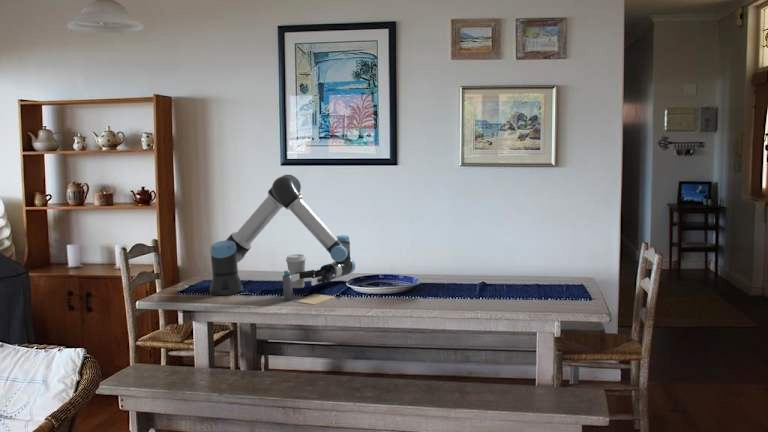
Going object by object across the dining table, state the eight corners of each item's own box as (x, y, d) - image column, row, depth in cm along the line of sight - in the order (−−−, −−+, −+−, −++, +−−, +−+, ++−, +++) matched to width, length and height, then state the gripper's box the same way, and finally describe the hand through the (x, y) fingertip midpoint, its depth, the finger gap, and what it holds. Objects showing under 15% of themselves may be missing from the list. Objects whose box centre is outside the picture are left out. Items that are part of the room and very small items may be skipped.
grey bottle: (282, 300, 298) (280, 271, 296) (288, 298, 301) (286, 269, 299) (288, 301, 295) (287, 272, 294) (295, 299, 299) (293, 270, 297)
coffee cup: (303, 289, 317) (302, 257, 316) (284, 288, 319) (282, 257, 317) (310, 284, 327) (308, 253, 325) (291, 284, 329) (289, 253, 327)
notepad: (293, 301, 295) (293, 300, 295) (314, 294, 306) (314, 293, 306) (314, 304, 288) (314, 304, 288) (335, 297, 299) (335, 296, 299)
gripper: (310, 261, 328) (279, 270, 310) (350, 266, 313) (321, 275, 296) (311, 276, 329) (280, 286, 311) (351, 281, 314) (322, 291, 297)
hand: (300, 280), depth 304 cm, fingers open, 13 cm apart
